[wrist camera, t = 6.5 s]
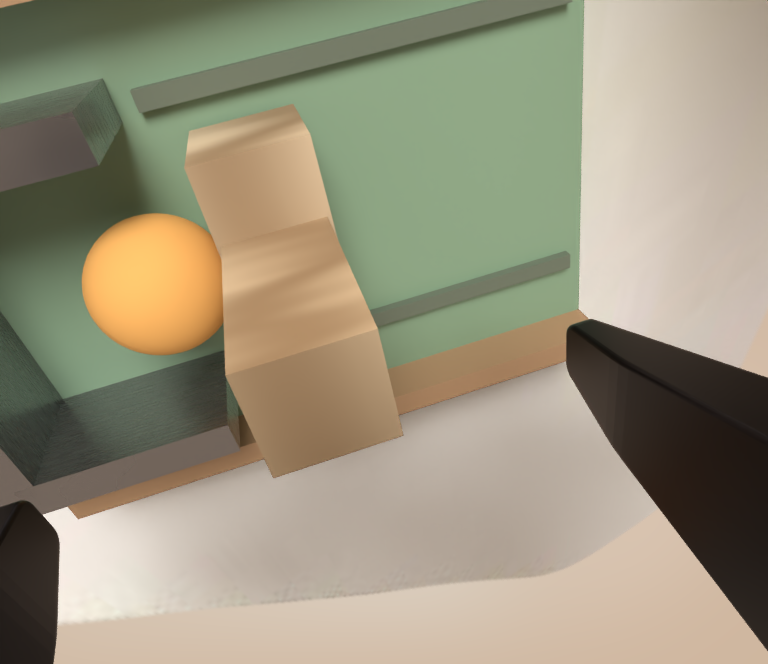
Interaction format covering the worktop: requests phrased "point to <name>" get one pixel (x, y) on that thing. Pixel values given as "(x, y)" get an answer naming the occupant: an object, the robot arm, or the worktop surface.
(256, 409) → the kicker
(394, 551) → the worktop surface
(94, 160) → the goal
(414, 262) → the pitch
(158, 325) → the ball
